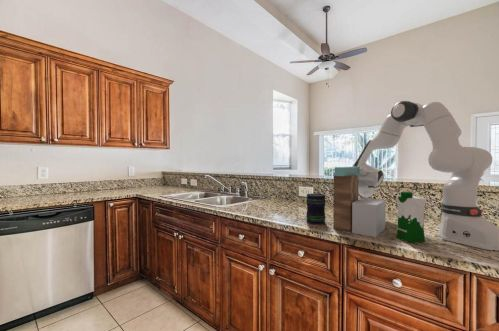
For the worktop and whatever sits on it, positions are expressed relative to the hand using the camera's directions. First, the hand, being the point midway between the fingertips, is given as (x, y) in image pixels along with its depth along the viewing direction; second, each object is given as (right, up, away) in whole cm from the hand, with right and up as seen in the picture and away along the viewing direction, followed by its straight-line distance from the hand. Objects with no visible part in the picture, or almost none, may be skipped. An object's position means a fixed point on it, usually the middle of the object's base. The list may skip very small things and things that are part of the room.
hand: (354, 169), depth 128 cm
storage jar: (-20, -29, +1) cm, 35 cm away
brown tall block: (-8, -29, -9) cm, 31 cm away
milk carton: (+12, -29, -28) cm, 42 cm away
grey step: (+1, -29, -14) cm, 32 cm away
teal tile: (-6, -3, -7) cm, 10 cm away
